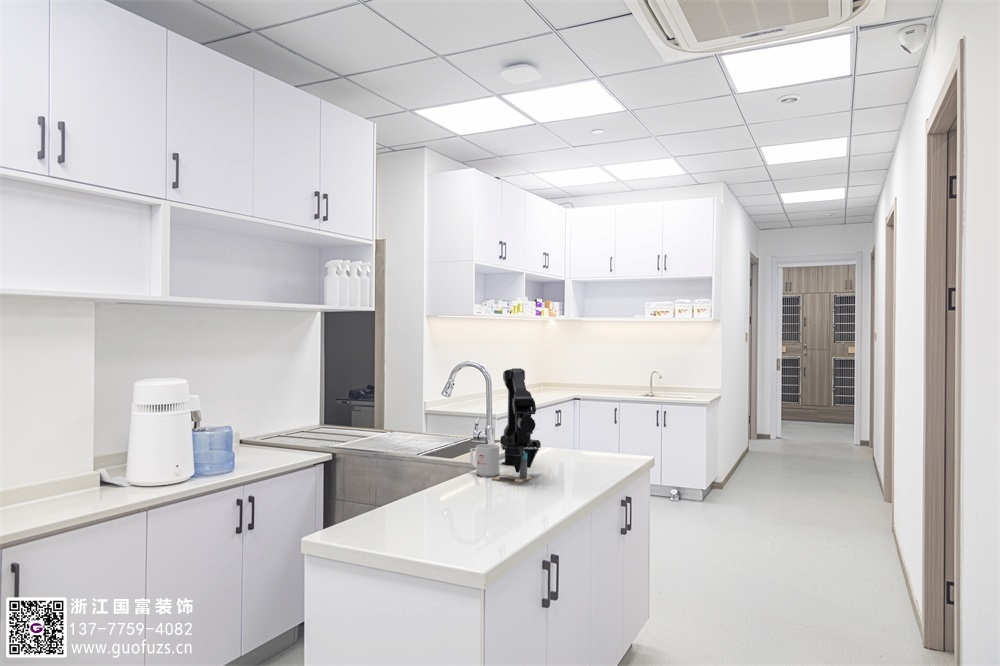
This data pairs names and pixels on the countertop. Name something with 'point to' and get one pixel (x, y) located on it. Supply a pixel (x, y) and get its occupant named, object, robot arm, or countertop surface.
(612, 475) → the countertop surface
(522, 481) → the clipboard
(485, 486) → the countertop surface
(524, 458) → the marker
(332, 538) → the countertop surface
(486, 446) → the mug
